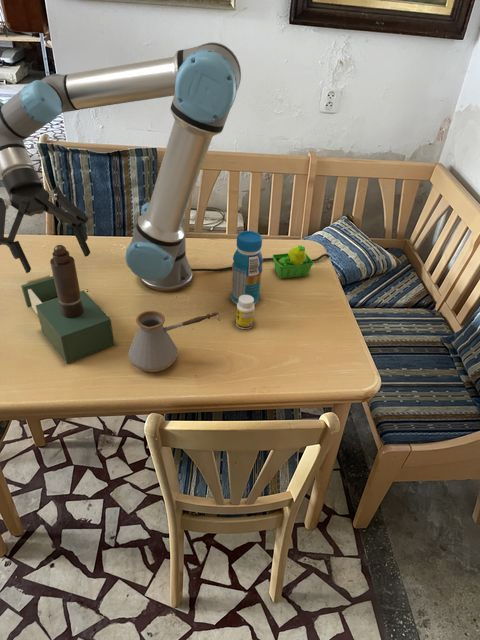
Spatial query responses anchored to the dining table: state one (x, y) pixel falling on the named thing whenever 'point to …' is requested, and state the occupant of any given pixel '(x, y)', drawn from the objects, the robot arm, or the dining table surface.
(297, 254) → the fruit basket
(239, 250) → the beverage bottle
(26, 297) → the drawer
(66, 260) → the pepper mill
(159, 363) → the coffee pot
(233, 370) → the dining table surface
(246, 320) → the supplement bottle
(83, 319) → the cabinet
